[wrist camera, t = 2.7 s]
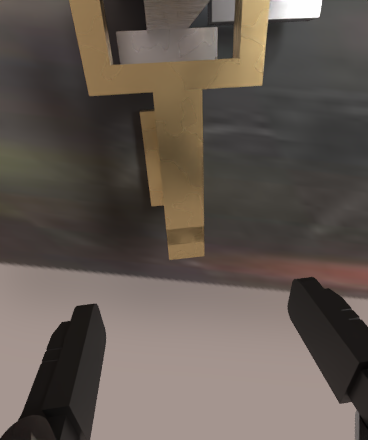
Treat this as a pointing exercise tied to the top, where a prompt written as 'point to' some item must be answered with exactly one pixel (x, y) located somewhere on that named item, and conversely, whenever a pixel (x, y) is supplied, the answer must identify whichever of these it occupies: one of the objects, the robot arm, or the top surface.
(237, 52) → the square loop paddle
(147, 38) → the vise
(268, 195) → the top surface
